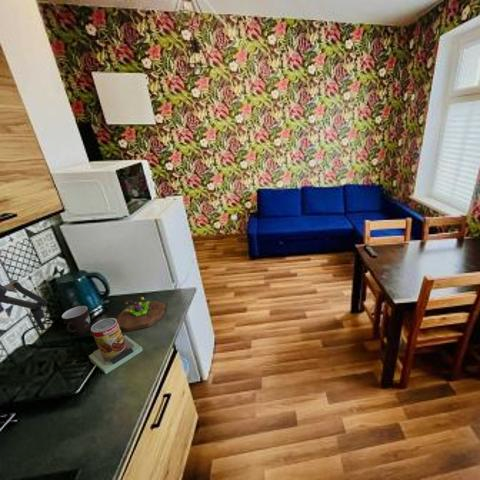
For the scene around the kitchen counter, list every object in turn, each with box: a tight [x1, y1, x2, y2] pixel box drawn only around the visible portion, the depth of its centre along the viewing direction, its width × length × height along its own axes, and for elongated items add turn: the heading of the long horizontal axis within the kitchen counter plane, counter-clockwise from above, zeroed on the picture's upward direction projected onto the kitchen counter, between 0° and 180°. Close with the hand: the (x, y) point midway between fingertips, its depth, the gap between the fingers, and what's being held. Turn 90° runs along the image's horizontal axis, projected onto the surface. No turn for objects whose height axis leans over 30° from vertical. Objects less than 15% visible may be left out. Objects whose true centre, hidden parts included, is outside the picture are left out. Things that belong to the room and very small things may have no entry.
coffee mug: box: [61, 305, 93, 336], centre depth 116 cm, size 12×9×10 cm
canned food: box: [90, 317, 126, 357], centre depth 102 cm, size 8×8×12 cm
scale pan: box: [92, 337, 135, 365], centre depth 104 cm, size 10×10×1 cm
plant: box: [116, 296, 167, 333], centre depth 126 cm, size 20×20×11 cm
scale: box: [88, 335, 144, 375], centre depth 105 cm, size 13×13×5 cm
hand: (9, 342), depth 74 cm, fingers open, 13 cm apart
